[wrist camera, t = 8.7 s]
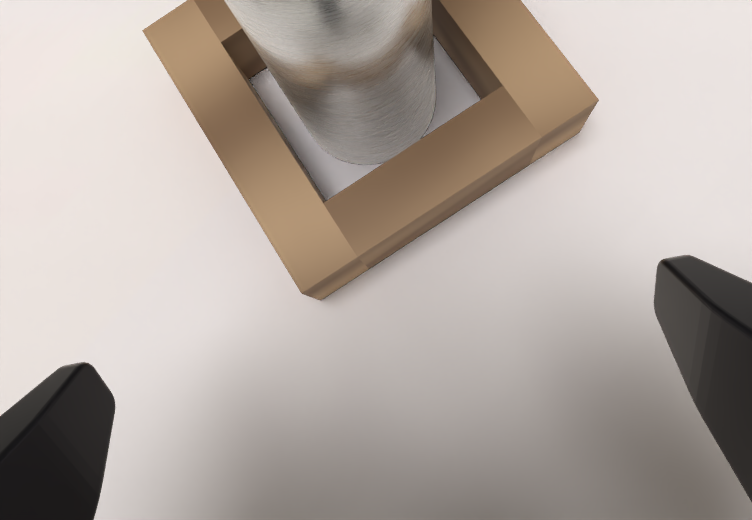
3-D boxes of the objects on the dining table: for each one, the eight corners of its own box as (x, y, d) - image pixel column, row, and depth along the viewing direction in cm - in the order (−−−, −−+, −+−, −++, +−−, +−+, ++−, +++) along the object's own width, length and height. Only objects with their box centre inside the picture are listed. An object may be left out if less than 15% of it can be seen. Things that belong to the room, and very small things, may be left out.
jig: (579, 132, 19) (598, 99, 16) (320, 300, 19) (301, 293, 16) (411, -87, 21) (406, -146, 18) (178, 67, 21) (142, 30, 18)
